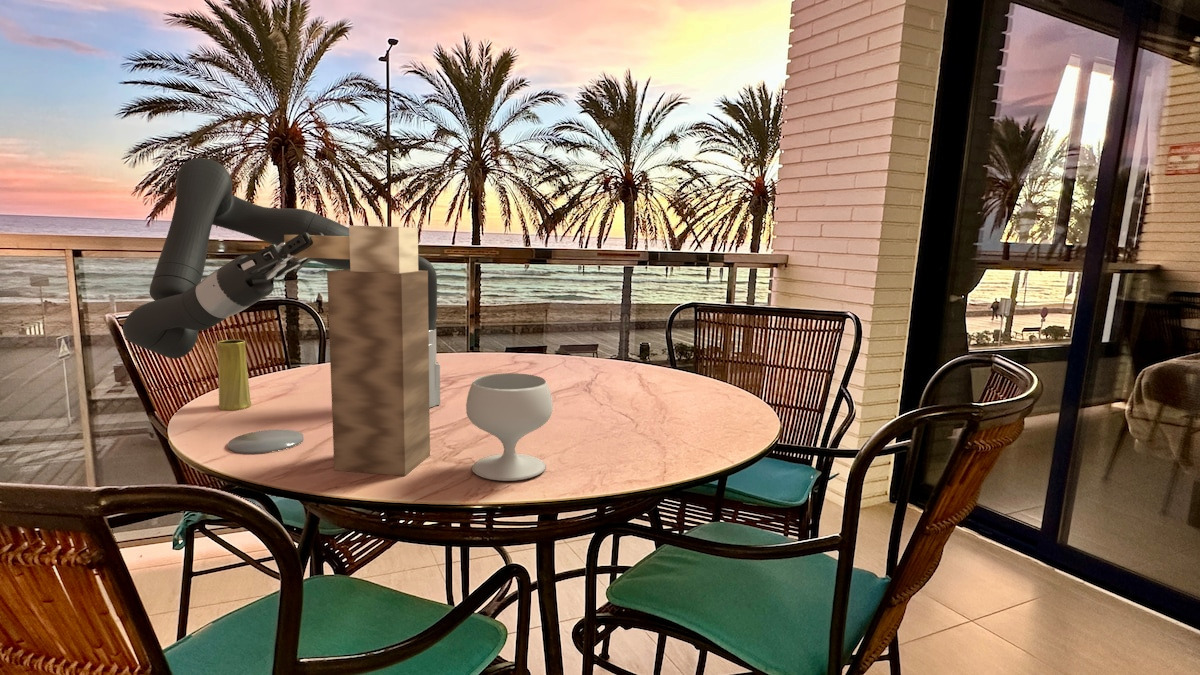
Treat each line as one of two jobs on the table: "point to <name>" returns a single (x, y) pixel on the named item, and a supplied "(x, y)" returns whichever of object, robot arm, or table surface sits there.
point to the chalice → (509, 421)
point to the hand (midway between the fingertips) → (316, 237)
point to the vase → (233, 375)
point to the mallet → (368, 248)
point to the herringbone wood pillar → (379, 370)
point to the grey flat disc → (265, 441)
